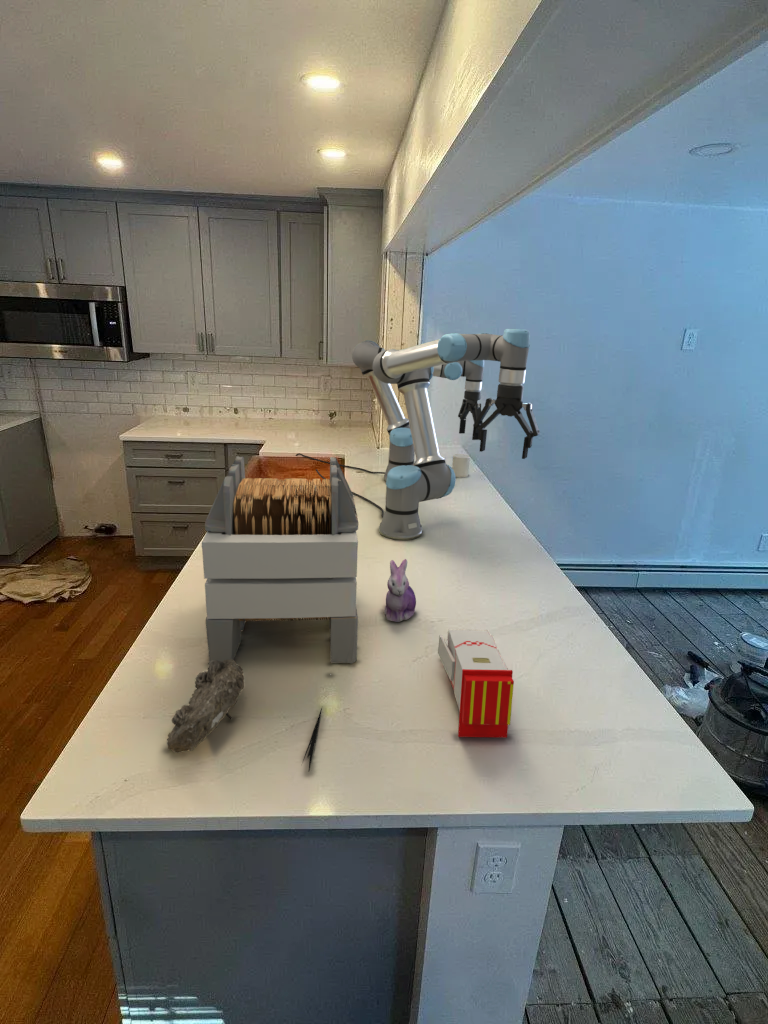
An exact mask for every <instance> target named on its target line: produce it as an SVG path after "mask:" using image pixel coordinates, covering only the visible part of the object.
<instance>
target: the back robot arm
mask: <svg viewBox="0 0 768 1024" xmlns="http://www.w3.org/2000/svg"><path fill="white" fill-rule="evenodd" d="M385 350H386V349H385V348H384V347H381V346H379V344H378V343H377V342H375V341H373V340H363V341H361V342H358V343H357V344H356V345H355V346H354V347H353V349H352V353H351V359H352V362H353V363H354V365H355V366H356V367H357V368H359V370H360V372H361V375H362V376H364V377H366V378H367V380H368V383H369V384H370V386H371V389H372V391H373V394H374V396H375V398H376V400H377V402H378V405H379V407H380V409H381V412H382V413H383V417H384V419H385V421H386V423H387V427H386V432H387V433H388V435H389V436H388V440H389V446H388V447H389V449H388V463H387V467H386V469H385V471H372V470H368V469H365V468H361V467H357V466H350V465H344V464H340V463H339V466H340V467H342V468H348V469H354V470H359V471H363V472H366V473H369V474H379V475H383V481H384V482H386V480H387V474H388V472H389V471H390V470H391V469H392V468H394V467H397V466H402V465H405V466H407V465H414V463H415V456H416V455H415V450H414V445H413V440H412V435H411V430H410V425H409V420H408V417H405V414H404V412H403V410H402V407H401V405H400V403H399V400H398V398H397V396H396V393H395V391H394V389H393V387H392V384H387V383H384V382H382V381H380V380H379V379H378V378H377V377H376V376H375V374H374V372H373V361H374V359H375V357H376V356H377V354H379V353H380V352H382V351H385ZM484 369H485V360H472V361H469V360H467V361H457V362H453V363H447V364H443V365H438V366H434V372H433V373H432V374H433V376H432V377H436V378H442V379H447V380H449V381H456V380H458V379H459V378H465V383H464V394H463V399H462V402H461V406H460V408H459V412H458V415H457V417H458V418H459V430H458V434H461V435H463V434H466V425H467V416H468V415H469V413H471V416H472V420H473V424H474V423H475V421H476V419H477V418H478V416H479V414H480V413H481V411H482V403H479V402H478V401H480V400H481V398H482V386H483V380H484V379H483V378H484ZM483 422H484V420H483V421H482V422H481V424H482V423H483ZM472 427H473V428H472V437H471V440H472V441H479V440H478V433H479V429H478V428H476V427H474V426H473V425H472ZM295 456H296V457H297V456H301V457H304V458H306V459H310V460H313V461H316V462H320V463H323V464H328V465H330V461H325V460H321V459H318V458H314V457H312V456H308V455H305V454H303V453H299V452H298V453H296V454H295Z"/></svg>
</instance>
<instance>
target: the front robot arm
mask: <svg viewBox="0 0 768 1024" xmlns="http://www.w3.org/2000/svg"><path fill="white" fill-rule="evenodd" d="M530 338H531V332H530V330H528V329H519V328H506V329H504V330H503V334H502V335H501V334H492V333H456V332H454V333H453V332H452V333H446V334H443V335H442V336H441V337H440V338H438V339H434V340H431V341H427V342H424V343H419V344H416V345H413V346H409V347H405V348H402V349H395V348H390V349H385V351H382V352H380V353H379V354H377V356H376V357H375V359H374V361H373V372H374V374H375V376H376V377H377V378H378V379H379V380H380V381H382V382H384V383H387V384H391V385H397V386H396V387H397V390H398V392H399V393H401V394H402V396H403V399H404V404H405V409H406V414H407V419H408V420H409V425H410V430H411V435H412V440H413V445H414V450H415V455H414V456H415V460H414V465H407V466H405V465H402V466H397V467H394V468H392V469H391V470H390V471H389V472H388V474H387V480H386V481H385V504H384V505H385V507H384V508H385V509H383V507H381V506H380V505H378V504H377V503H375V502H373V501H371V500H370V499H369V498H366V497H364V496H363V495H360V494H358V493H356V492H354V491H352V490H351V492H352V494H353V496H357V497H359V498H361V499H363V500H364V501H367V502H368V503H369V504H372V505H373V506H374V507H376V508H378V509H379V510H380V511H381V522H379V526H378V533H379V534H380V535H381V536H382V537H385V538H387V539H389V540H395V541H410V540H415V539H418V538H420V537H421V536H422V535H423V525H422V524H421V518H420V515H419V507H420V506H419V505H420V503H421V502H426V501H427V502H428V501H432V500H438V499H442V498H444V497H447V496H449V495H451V494H452V492H453V490H454V489H455V486H456V481H457V479H456V478H457V477H455V473H454V470H453V469H452V465H451V466H450V465H449V464H447V461H446V458H445V457H443V456H442V455H441V454H440V448H439V443H438V437H437V433H436V427H435V423H434V418H433V414H432V413H433V412H432V408H431V405H430V398H429V392H428V388H429V387H430V385H431V382H430V381H431V380H432V379H433V377H434V376H433V374H432V373H433V372H434V366H438V365H443V364H447V363H453V362H457V361H467V360H469V361H472V360H484V361H493V362H498V363H499V362H500V363H499V371H498V372H499V373H498V384H497V390H496V399H494V398H492V397H488V398H486V399H485V404H484V406H483V408H481V413H480V414H479V416H478V418H477V419H476V421H475V423H474V422H473V425H472V427H473V426H474V427H476V428H478V429H479V433H478V440H477V441H480V442H479V453H480V452H481V453H483V452H485V451H486V443H487V435H488V429H486V428H487V427H488V426H489V425H490V424H491V423H492V422H493V421H494V420H495V419H496V418H497V417H498V416H499V415H501V416H507V417H510V418H511V417H513V418H515V420H516V421H517V422H518V424H519V426H520V427H521V428H522V430H523V431H524V433H525V436H524V439H523V446H522V453H521V459H523V460H525V459H527V458H528V455H529V454H528V453H529V449H530V448H532V446H533V441H534V437H538V436H540V434H541V432H540V428H539V426H538V421H537V419H536V415H535V413H534V411H533V410H534V409H533V407H534V406H533V403H532V402H527V403H526V402H525V403H524V402H523V397H524V391H525V390H524V389H525V386H524V385H523V384H525V381H526V372H527V362H528V356H529V350H530V345H531V344H530V343H531V341H530ZM494 405H495V408H496V409H495V410H494V411H493V412H492V413H491V414H490V416H488V417H486V416H487V414H488V412H490V409H491V407H492V406H494ZM522 409H523V410H524V411H525V413H526V417H527V419H528V422H529V424H528V422H527V421H526V419H525V417H524V416H523V413H522V411H521V410H522ZM485 418H486V419H485ZM482 421H483V423H482V424H481V422H482ZM315 471H316V474H317V475H318V476H319V477H320V478H322V479H323V480H324V479H327V478H325V477H324V476H323V475H322V474H321V473H320V471H319V470H318V468H315Z"/></svg>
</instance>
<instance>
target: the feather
mask: <svg viewBox="0 0 768 1024" xmlns="http://www.w3.org/2000/svg"><path fill="white" fill-rule="evenodd" d="M329 675H330V676H331V675H332V674H331V673H330V674H329ZM322 710H323V707H321V708H320V710H319V713H318V716H317V719H316V723H315V725H314V728H313V731H312V733H311V737H310V739H309V742H308V745H307V748H306V751H305V754H304V757H303V760H302V763H301V767H302V765H303V763H304V761H305V758H308V759H309V760H308V762H307V763H308V764H307V766H308V771H310V770H311V766H312V765H311V764H312V760H313V757H315V756H314V755H315V751H316V749H315V746H317V739H318V733H319V729H320V722H321V717H322V712H323V711H322ZM313 754H314V755H313ZM306 755H307V757H306Z"/></svg>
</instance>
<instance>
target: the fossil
mask: <svg viewBox="0 0 768 1024" xmlns="http://www.w3.org/2000/svg"><path fill="white" fill-rule="evenodd" d="M243 670H244V669H243V667H242V665H240V664H237V662H236V661H235V659H234V660H232V659H231V660H228V659H227V660H224V661H223V662H222V661H217V660H212V661H211V662H210V665H209V664H208V666H207V671H201V672H199V673H198V674H197V675H196V676H195V680H194V684H195V685H194V687H195V689H194V690H193V693H192V694H191V697H190V698H189V700H188V704H184V705H182V706H181V707H180V709H177V710H176V711H175V713H174V715H173V716H172V718H171V723H172V724H173V727H172V730H171V731H170V732H168V734H167V738H166V741H167V742H166V745H167V749H168V750H169V751H173V752H174V753H176V754H178V753H182V752H188V751H189V752H192V751H193V750H195V748H196V747H197V746H199V744H200V743H201V742H203V741H204V740H205V739H206V738H207V737H208V736H209V735H210V734H211V733H212V732H214V730H215V729H217V727H218V726H219V724H220V722H221V721H222V720H223V719H224V718H225V716H226V717H227V719H229V720H233V717H232V715H230V714H229V710H230V709H231V708H234V706H235V704H236V703H237V702H238V699H239V697H240V695H241V693H242V691H243V690H245V689H244V688H245V675H244V671H243Z"/></svg>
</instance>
